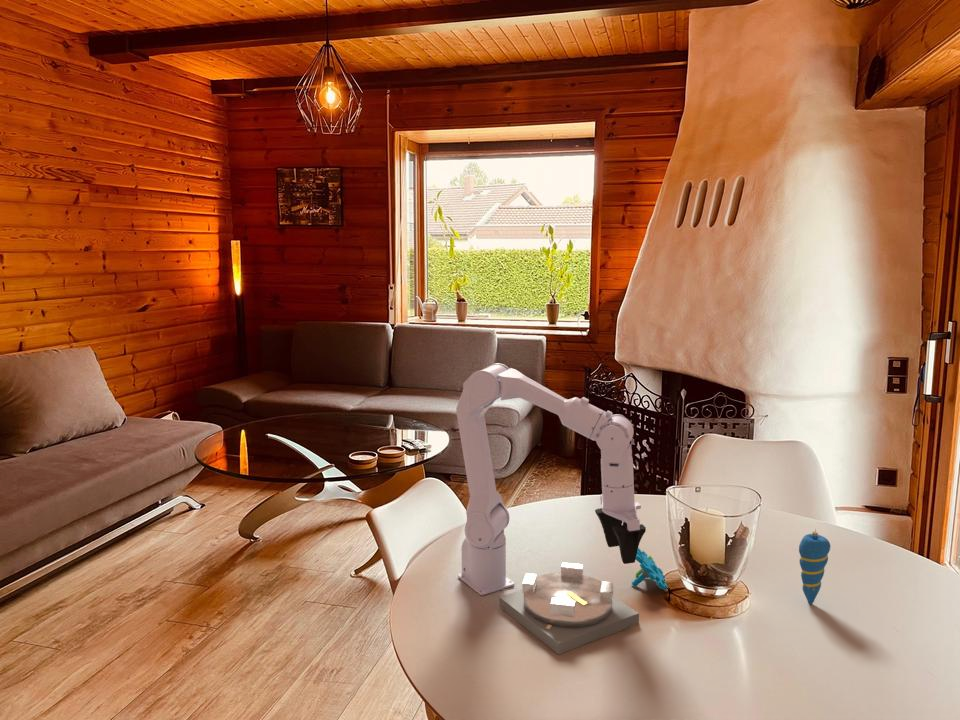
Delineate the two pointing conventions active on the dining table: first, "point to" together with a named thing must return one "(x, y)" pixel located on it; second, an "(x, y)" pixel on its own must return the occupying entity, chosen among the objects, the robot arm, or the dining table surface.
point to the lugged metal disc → (567, 597)
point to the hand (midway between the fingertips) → (621, 554)
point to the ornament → (813, 563)
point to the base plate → (568, 637)
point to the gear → (649, 570)
